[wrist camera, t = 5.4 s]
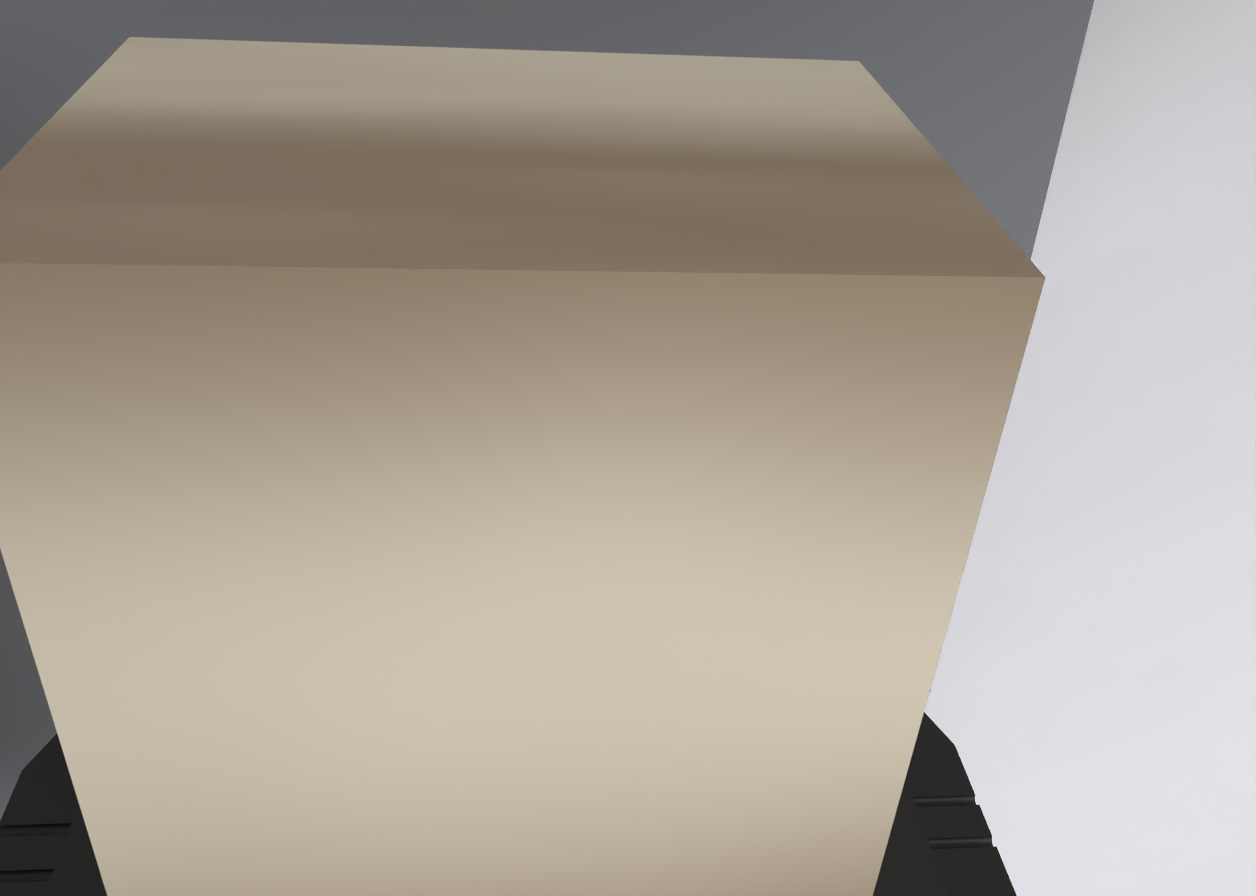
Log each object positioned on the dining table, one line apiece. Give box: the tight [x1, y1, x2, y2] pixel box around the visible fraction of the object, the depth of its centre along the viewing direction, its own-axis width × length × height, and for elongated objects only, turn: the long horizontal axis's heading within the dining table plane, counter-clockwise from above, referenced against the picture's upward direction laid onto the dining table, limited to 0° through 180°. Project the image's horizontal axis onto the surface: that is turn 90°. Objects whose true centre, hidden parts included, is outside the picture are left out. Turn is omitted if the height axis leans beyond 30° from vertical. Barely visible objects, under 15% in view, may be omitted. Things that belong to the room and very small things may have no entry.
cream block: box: [0, 37, 1045, 896], centre depth 10 cm, size 12×5×4 cm, turn 177°
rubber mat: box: [0, 0, 1094, 820], centre depth 22 cm, size 30×22×1 cm
